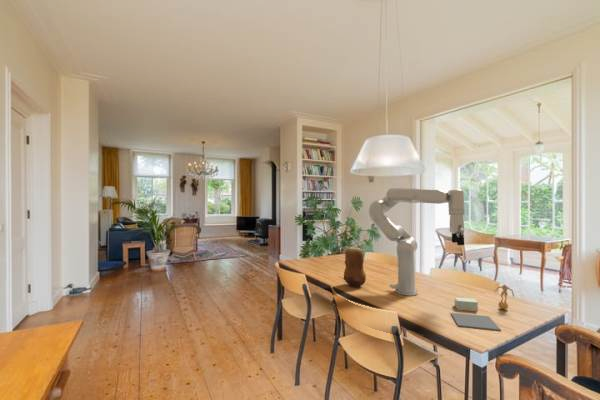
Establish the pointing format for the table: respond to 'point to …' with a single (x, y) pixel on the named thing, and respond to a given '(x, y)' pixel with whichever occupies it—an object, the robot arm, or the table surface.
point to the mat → (475, 321)
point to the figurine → (502, 303)
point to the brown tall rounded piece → (354, 267)
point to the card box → (466, 304)
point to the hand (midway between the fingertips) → (457, 243)
